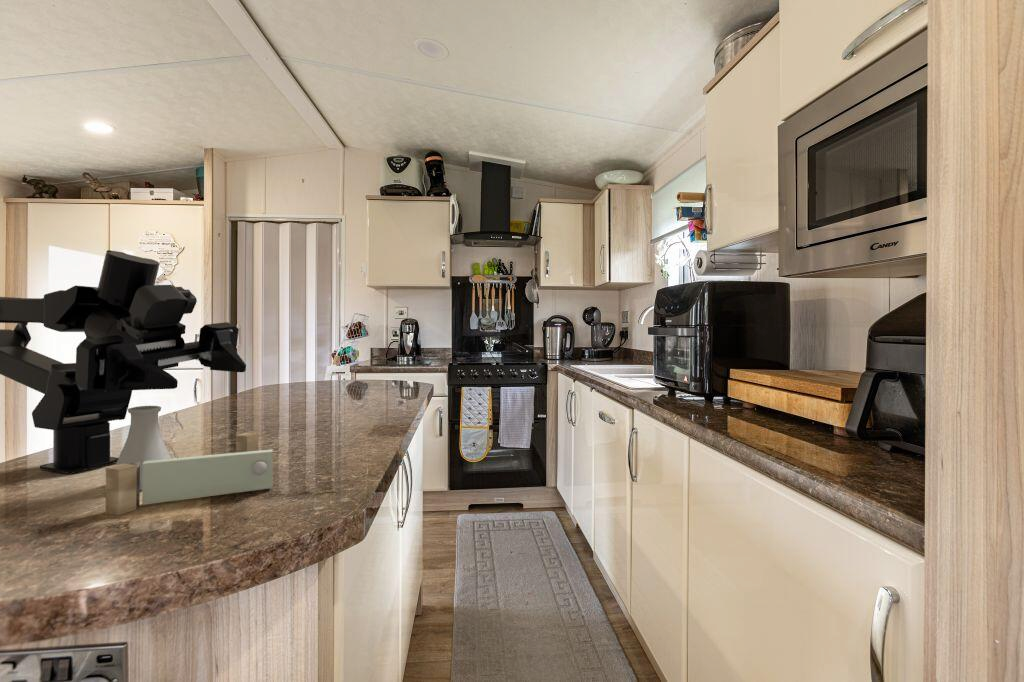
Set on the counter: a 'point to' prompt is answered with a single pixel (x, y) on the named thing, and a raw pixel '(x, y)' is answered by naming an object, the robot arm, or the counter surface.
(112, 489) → the door frame
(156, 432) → the flask
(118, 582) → the counter surface
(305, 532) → the counter surface
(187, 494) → the door
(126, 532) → the counter surface
